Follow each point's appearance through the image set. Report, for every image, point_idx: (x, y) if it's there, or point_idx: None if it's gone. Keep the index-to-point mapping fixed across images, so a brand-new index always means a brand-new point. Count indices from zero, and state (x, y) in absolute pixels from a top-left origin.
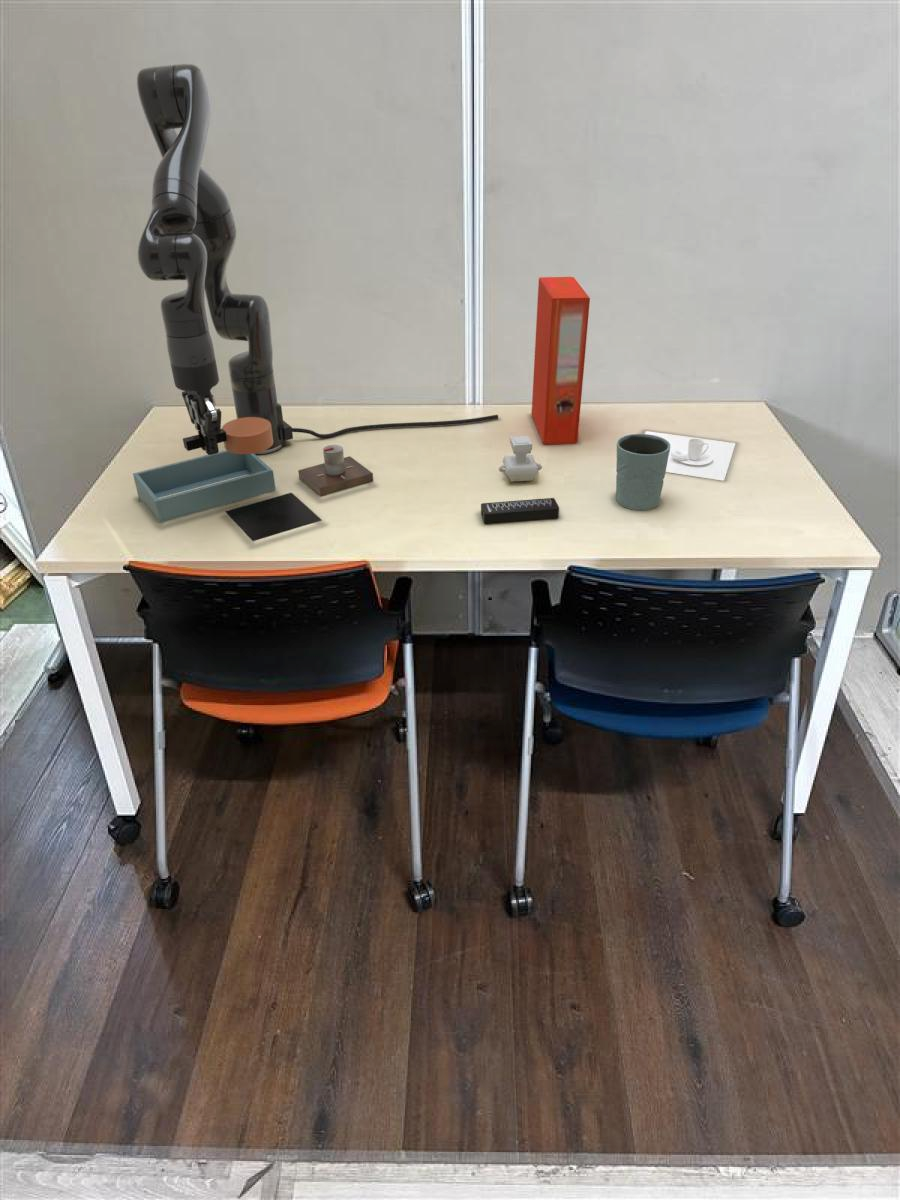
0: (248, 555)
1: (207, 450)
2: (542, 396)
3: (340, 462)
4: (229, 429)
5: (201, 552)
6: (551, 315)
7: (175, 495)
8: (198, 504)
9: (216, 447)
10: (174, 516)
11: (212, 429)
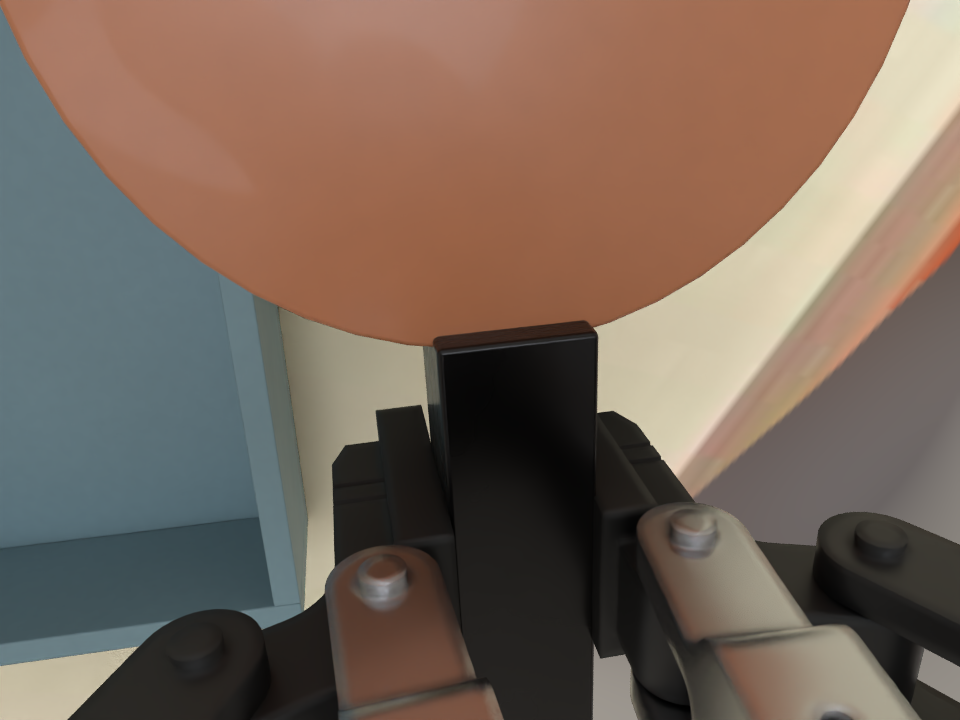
0: (817, 219)
1: None
2: None
3: None
4: (457, 229)
5: (650, 404)
6: None
7: (277, 518)
8: (274, 354)
9: (645, 443)
10: (296, 476)
11: (914, 664)
